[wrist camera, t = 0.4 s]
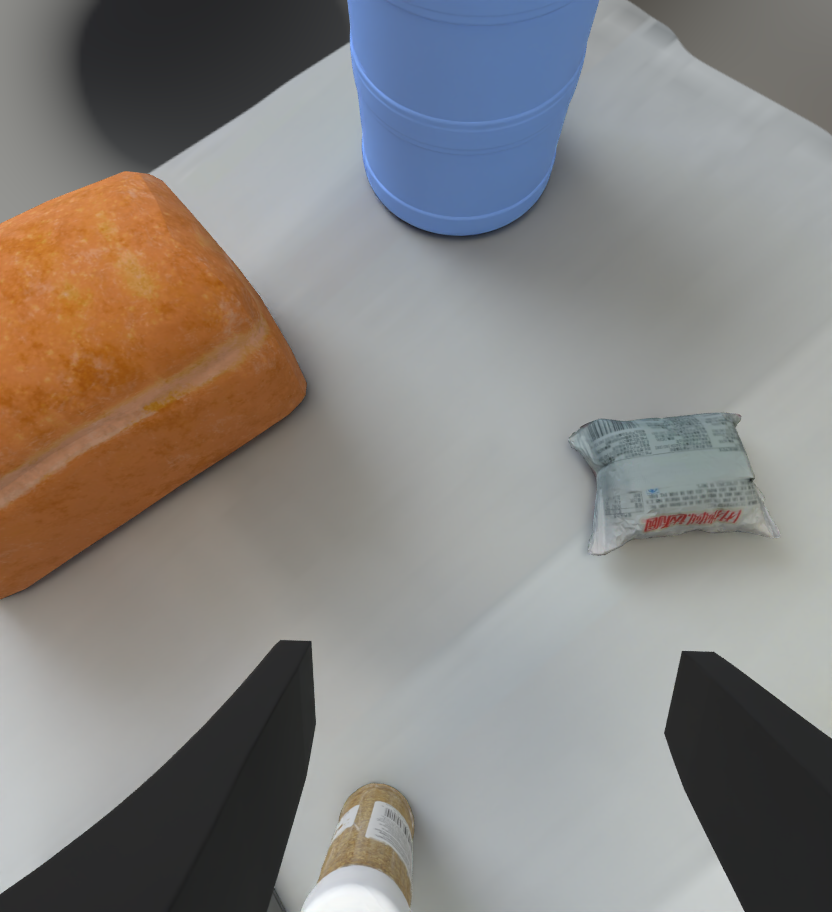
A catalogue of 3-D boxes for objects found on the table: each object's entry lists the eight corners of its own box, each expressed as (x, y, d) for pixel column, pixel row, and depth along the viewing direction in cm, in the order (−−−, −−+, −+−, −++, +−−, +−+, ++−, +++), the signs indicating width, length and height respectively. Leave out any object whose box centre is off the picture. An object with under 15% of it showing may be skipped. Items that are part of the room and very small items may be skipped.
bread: (-86, 460, 39) (-406, 360, 24) (230, 271, 43) (128, 86, 28) (-6, 622, 36) (-316, 626, 21) (326, 402, 40) (270, 271, 25)
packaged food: (754, 543, 37) (802, 531, 32) (580, 558, 37) (604, 548, 32) (721, 423, 40) (762, 396, 35) (559, 437, 39) (578, 411, 35)
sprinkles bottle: (329, 798, 33) (271, 914, 20) (401, 769, 33) (389, 866, 20) (352, 882, 32) (306, 1065, 19) (426, 851, 32) (431, 1010, 19)
